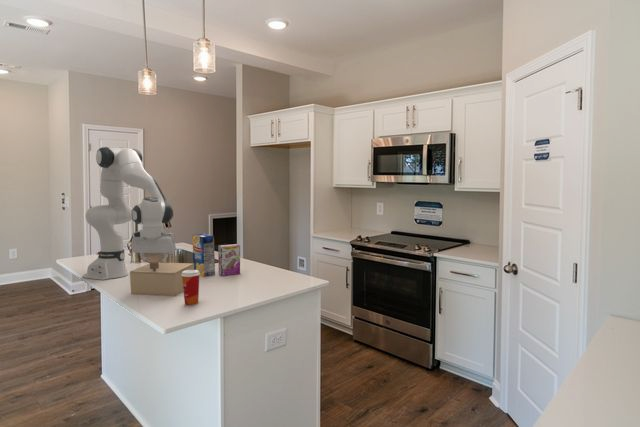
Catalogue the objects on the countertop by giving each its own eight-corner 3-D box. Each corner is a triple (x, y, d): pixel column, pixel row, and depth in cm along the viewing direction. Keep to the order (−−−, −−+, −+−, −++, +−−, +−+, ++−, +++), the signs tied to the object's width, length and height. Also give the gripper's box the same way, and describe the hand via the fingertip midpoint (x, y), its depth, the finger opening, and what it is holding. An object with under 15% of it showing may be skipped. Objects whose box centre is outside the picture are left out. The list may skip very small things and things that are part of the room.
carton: (130, 294, 194) (129, 273, 193) (153, 282, 214) (153, 263, 213) (175, 296, 191) (174, 274, 190) (194, 284, 211) (193, 265, 210)
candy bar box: (221, 276, 227) (220, 246, 225) (218, 274, 231) (217, 245, 229) (240, 273, 233) (240, 244, 231) (237, 272, 237) (236, 243, 235)
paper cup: (184, 300, 184) (183, 269, 183) (202, 300, 185) (201, 269, 183) (180, 306, 176) (179, 273, 175) (198, 305, 177) (197, 273, 175)
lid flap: (129, 272, 193) (129, 262, 193) (153, 263, 213) (152, 254, 212) (174, 274, 190) (174, 264, 189) (193, 264, 210) (193, 255, 209)
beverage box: (204, 277, 226) (203, 236, 224) (193, 273, 233) (192, 234, 231) (215, 274, 231) (214, 235, 228) (204, 271, 238) (203, 233, 236)
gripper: (177, 232, 193) (178, 261, 195) (136, 231, 196) (138, 260, 197) (171, 233, 187) (172, 264, 188) (128, 233, 190) (130, 263, 191)
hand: (154, 262), depth 193 cm, fingers open, 8 cm apart
